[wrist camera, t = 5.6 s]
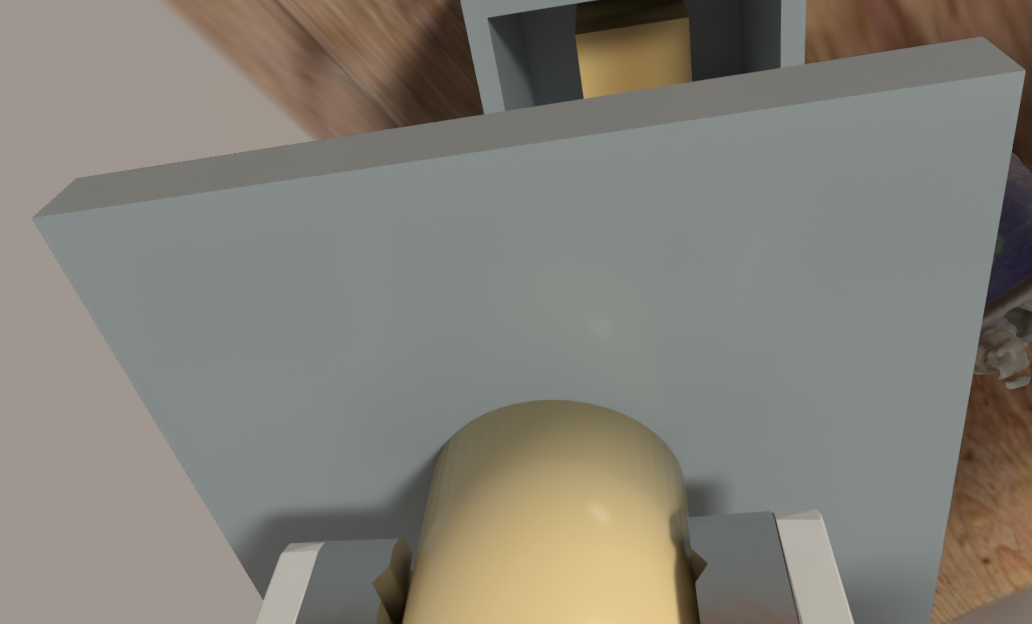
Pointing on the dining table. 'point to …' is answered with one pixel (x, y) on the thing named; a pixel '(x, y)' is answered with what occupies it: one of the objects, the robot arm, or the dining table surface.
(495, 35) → the grey open box
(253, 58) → the dining table surface
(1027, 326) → the flask
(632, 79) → the block
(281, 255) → the block with cream knob
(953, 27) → the dining table surface
